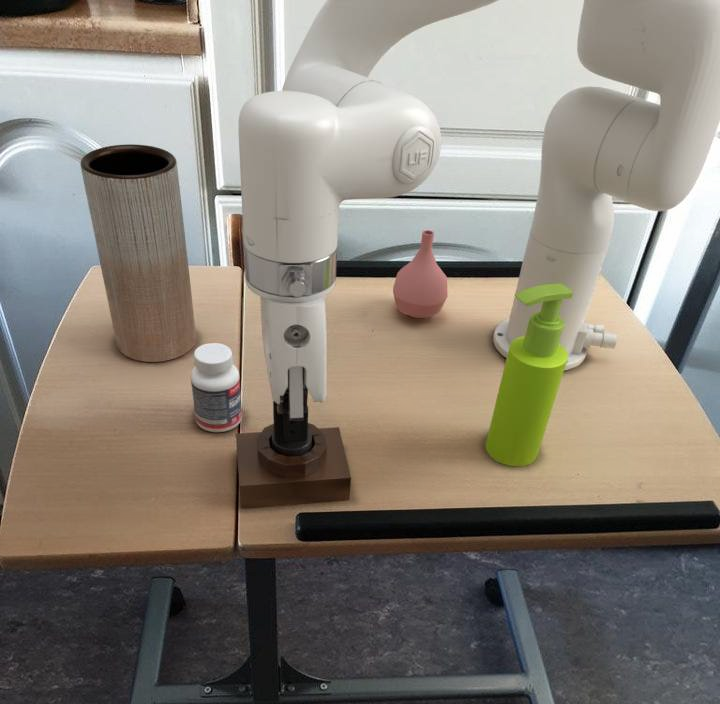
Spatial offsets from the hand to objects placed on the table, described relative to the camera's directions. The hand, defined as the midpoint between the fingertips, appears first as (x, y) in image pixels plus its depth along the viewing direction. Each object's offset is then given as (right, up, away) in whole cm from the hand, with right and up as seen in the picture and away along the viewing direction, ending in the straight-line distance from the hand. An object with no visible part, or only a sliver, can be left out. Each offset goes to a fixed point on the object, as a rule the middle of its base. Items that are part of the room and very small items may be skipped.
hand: (290, 436), depth 70 cm
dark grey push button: (0, -1, +2) cm, 2 cm away
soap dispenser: (+24, -1, +10) cm, 26 cm away
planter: (-19, +13, +21) cm, 32 cm away
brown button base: (0, -4, +4) cm, 6 cm away
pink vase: (+15, +19, +31) cm, 39 cm away
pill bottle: (-9, +3, +10) cm, 14 cm away
